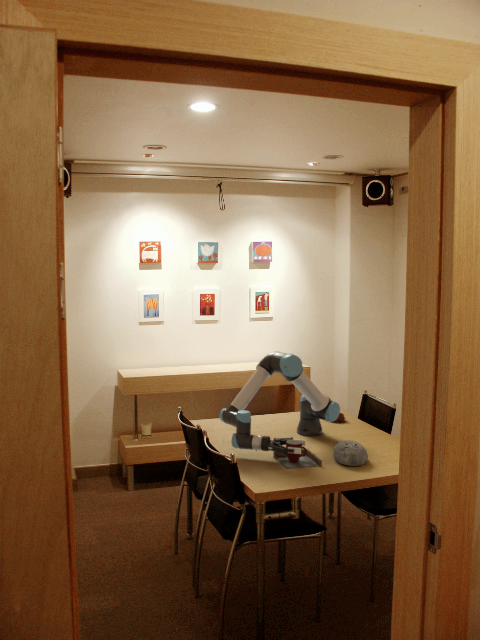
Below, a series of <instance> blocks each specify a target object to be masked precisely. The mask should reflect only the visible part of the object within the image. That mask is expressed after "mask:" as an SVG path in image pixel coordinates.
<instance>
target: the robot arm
mask: <svg viewBox="0 0 480 640" xmlns="http://www.w3.org/2000/svg"><path fill="white" fill-rule="evenodd" d="M273 374H279V375H281V376H282V377H283V378H284V379H285V381H287V382H289V383H292V384H293V386H295V388H297V390H298V391H299V392H300V394H302V395H301V396H300V401H299V412H300V413H299V421H298V423H297V427H296V433H297V434H299V435H302V436H306V437H307V436H309V437H314V436H320V435H322V434H323V427H322V424H321V421H320V420H323V421H324V422H330V423H332V422H333V421H335V420H336V419H337V418H338V416H339V414H340V413H341V407H340V404H339V403H338V402H336V401H333V400H332V399H331V398H330V397H329V396H328V395H327V394H325V393H322V392H321V391H320V389H319V388H318V387H317V385H316V384H314V382H313V381H312V380H311V379H310V378H309V376H307V374H306V372H304V366H303V361H302V360H301V358H300V357H299V356H297V355H295V354H293V353H286V352H281V351H272V352H270V353H267V355H265V356H264V357H263V358H262V359H261V360H260V361H259V362H258V364H257V365H256V366H255V370H254V372H253V373H252V374H251V376H250V377H249V379H247V381H246V382H245V384H244V385H243V386H242V388H241V389H240V390H239V391H238V394H236V396H235V397H234V399H233V400H232V402H231V403H230V404H229V405H228V407H225V408H222V409H221V410H220V411H219V415H218V417H219V419H220V421H221V422H222V423H224V424H227V425H229V426H232V427H235V430H236V431H235V432H234V433H232V436H231V443H230V444H231V446H232V447H233V448H234V449H240V450H251V451H255V452H257V451H262V452H269V451H271V452H273V451H275V452H278V453H282V454H285V455H287V452H288V453H295V454H301V448H294V447H288V449H287V447H286V441H287V440H299V441H301V442H302V447H305V446H306V440H305V439H295V438H294V437H292V436H291V437H273V439H271V436H269V435H260V434H252V431H251V430H252V429H251V428H252V413H251V411H249V410H245V409H246V408H247V406H249V404H250V401H251V400H253V398H254V396H255V395H256V394H257V392H258V391H259V390H260V388H261V387H262V386H263V384H264V383H265V382H266V380H267V379H269V378H271V377H272V375H273Z"/></svg>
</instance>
